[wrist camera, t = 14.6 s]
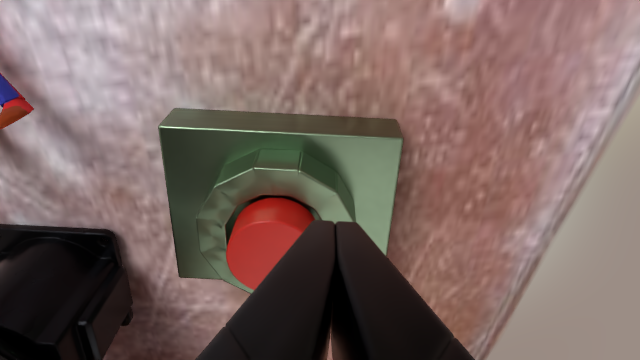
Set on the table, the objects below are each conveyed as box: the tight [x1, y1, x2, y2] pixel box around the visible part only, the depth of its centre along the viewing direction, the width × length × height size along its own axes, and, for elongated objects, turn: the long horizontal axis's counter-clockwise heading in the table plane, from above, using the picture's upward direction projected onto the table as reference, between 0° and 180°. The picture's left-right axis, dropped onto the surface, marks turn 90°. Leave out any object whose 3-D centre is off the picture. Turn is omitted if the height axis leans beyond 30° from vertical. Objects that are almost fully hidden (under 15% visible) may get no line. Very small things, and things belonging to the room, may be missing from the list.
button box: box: [158, 108, 404, 294], centre depth 20 cm, size 10×8×4 cm
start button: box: [226, 197, 316, 290], centre depth 18 cm, size 4×4×2 cm
